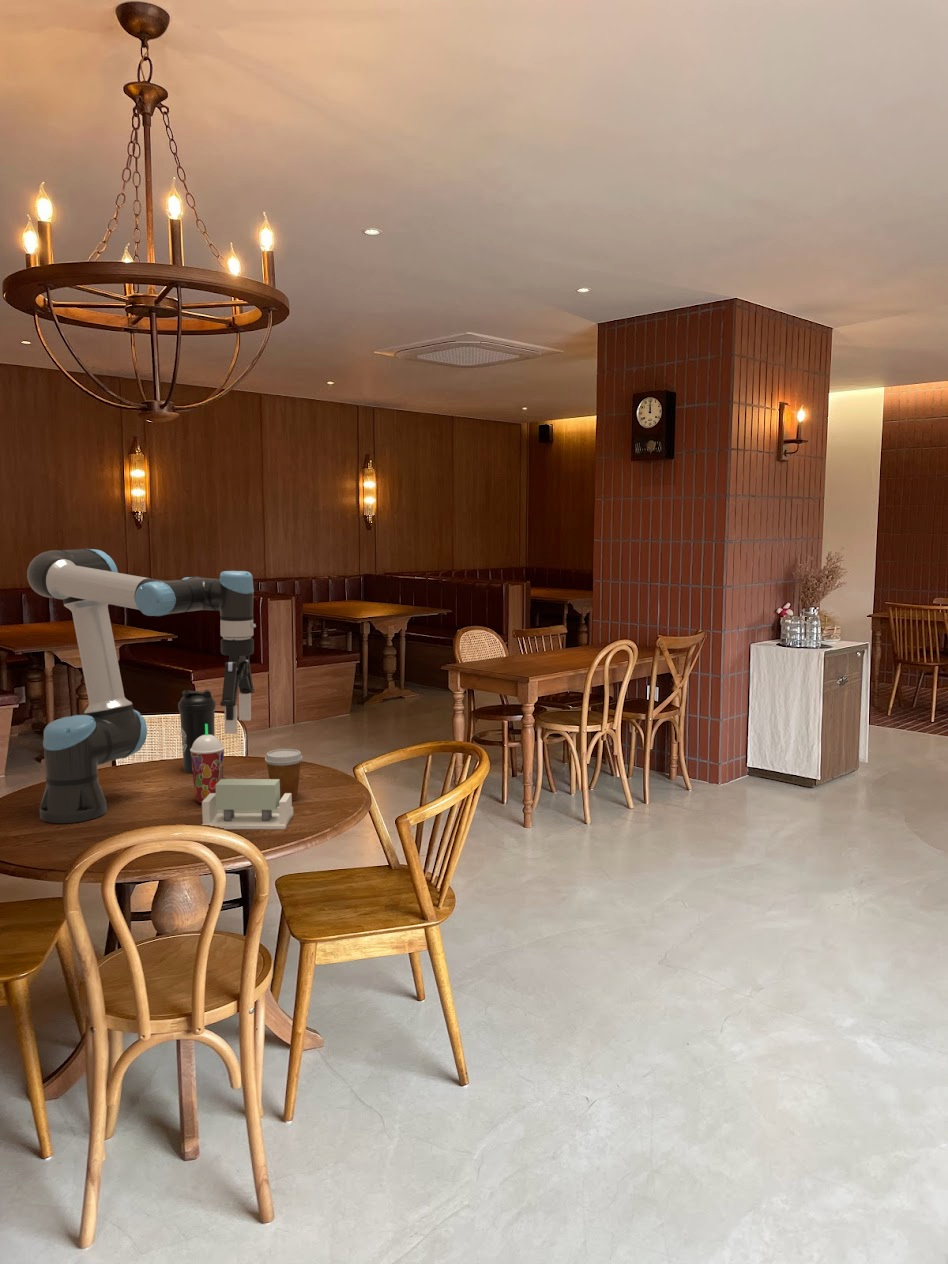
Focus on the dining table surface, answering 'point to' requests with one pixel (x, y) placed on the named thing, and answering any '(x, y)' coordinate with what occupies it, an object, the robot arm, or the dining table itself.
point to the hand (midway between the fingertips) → (238, 726)
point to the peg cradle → (247, 815)
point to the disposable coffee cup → (285, 769)
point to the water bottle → (195, 720)
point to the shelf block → (247, 794)
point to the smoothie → (206, 764)
